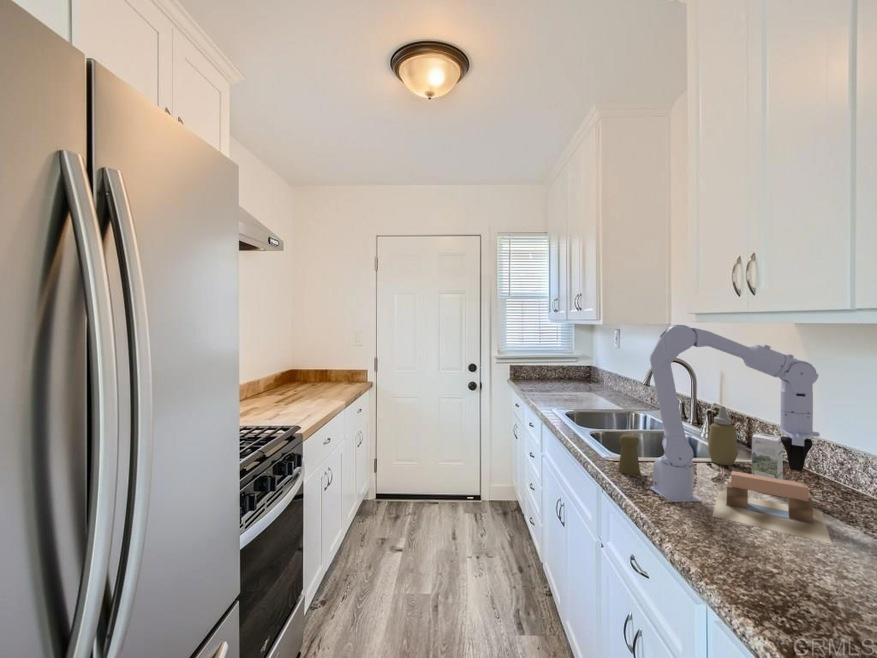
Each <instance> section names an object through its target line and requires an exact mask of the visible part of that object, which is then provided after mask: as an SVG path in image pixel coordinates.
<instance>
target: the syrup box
mask: <svg viewBox="0 0 877 658" xmlns="http://www.w3.org/2000/svg"><path fill="white" fill-rule="evenodd" d="M780 437H782V436H780V435H773V434H767V433H763V432H762V433H761V432H756V433H754V434H753V435H752V436H751V474H753V475H759V476H764V477H770V478H776V479H782V480H784V479H783V475H784V474H783V472H784V471H783V465H784V463H783V462H784V461H783V460H784V445H783V444H782V442H781V438H780Z"/></svg>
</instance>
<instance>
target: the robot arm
mask: <svg viewBox="0 0 877 658" xmlns="http://www.w3.org/2000/svg"><path fill="white" fill-rule="evenodd" d="M692 347H695V348H704V347H710V348H712V349H714V350H717V351H720V352H723V353H726V354H729V355H732V356H734V357H738V358H740V359H742V360H743V363H744V365H745V366H746V367H747V368H750V369H753V370H756V371H757V372H760V373H764V374H765V375H768V376H771V377H773V378H779V379H780V380H781V387H780V388H781V390H780V427H779V429H778V430H779V433H781V434H782V435H783V436H781V437H780V438H781V442H782V444H783V448H784V450H785V452H786V456H787V462H788V467H789V469H790V470H791V471H797V472H802V471H803V469H804V466H805V462H806V458H807V456H808V453H809V451H810V450H811V449H812V448H813V446H814V444H813V440H812V439H811V438H812V437H821V436H820V432H819V431H814V430H813V426H814V422H813V420H814V409H813V408H814V389H813V388H814V384H815V383H816V382H817V380H818V378H819V373H817V369H816V368H815V366H813V364H812V363H810V362H808V361H805V360H800V359H797V358H794V357H795V356H794V355H793V354H790V353H787V354H784V353H781V352H780V351H776V350H773V349H772V347H771V346H770V345H768V344H762V345H761V344H755V345H752V346H746V345H744V344H742V343H739V342H736V341H734V340H731V339H729V338H726V337H724V336H722V335H719V334H717V333H715V332H713V331H710V330H705V329H700V328H696V327H690V326H688V325H685V324H672V325H670V326H668V327H667V328H666V329H665V330H664V331H663V332H662V333H661V334H660V336H659V338H658V340H657V342H656V344H655V346H654V347H653V349H652V352H651V353H650V355H649V361H650V365H651V366H650V368H651V372H652V377H653V383H654V387H655V391H656V392H655V393H656V397H657V402H658V406H659V407H658V408H659V413H660V418H661V423H662V429H663V437H662V441H661V445H662V448H663V450H664V453H663V455H662V456H660V457H657V459H655V461H654V463H653V465H652V466H653V467H652V470H653V471H652V472H653V475H652V477H653V479H652V482H653V483H652V486H650V487H649V489H650V490H651V491H653V492H655V493H656V494H657V495H661V496H662V497H664V498H665V499H667V500H668V501H669V502H672V503H673V502H675V503H677V502H697V501H699V502H700V501H702V499H701V498H699V497H697V496H696V495H694V461H693V459H694V455H695V454H694V449H693V448H692V446H691V445H690V443H689V440H688V438H687V436H686V432H685V429H684V424H683V419H682V415H681V414H682V413H681V410H680V404H679V400H678V394H677V391H676V384H675V379H674V374H673V370H672V363H673V361H675V360H676V359H677V357H678V356H679V355H680V354H682V353H684V352H685V351H687V350H689V349H690V348H692Z"/></svg>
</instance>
